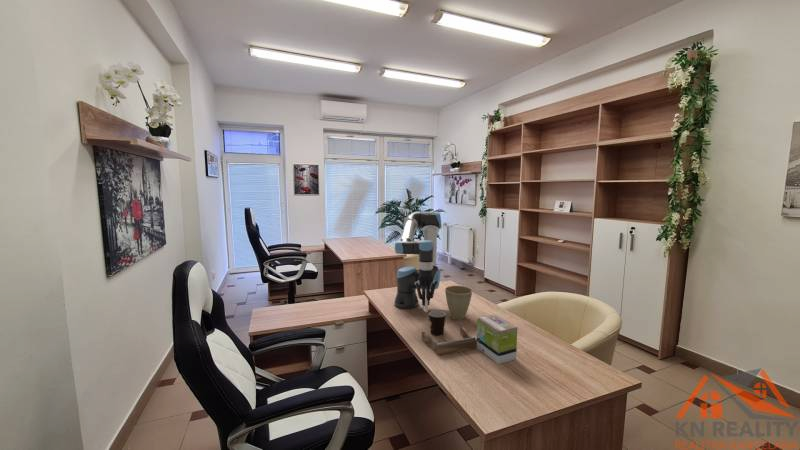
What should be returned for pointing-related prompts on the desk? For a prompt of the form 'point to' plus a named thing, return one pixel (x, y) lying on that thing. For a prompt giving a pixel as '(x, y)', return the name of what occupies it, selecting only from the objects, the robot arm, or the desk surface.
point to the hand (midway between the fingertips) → (425, 311)
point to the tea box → (497, 338)
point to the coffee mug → (437, 322)
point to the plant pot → (458, 300)
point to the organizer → (451, 343)
